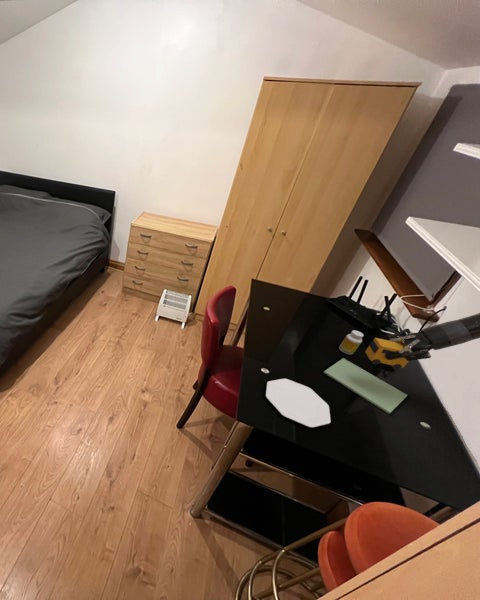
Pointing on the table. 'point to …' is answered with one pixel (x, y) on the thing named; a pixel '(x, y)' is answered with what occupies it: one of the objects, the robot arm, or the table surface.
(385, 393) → the mat
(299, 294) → the table surface
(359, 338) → the supplement bottle
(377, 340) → the toy bus
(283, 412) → the plate
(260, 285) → the table surface
